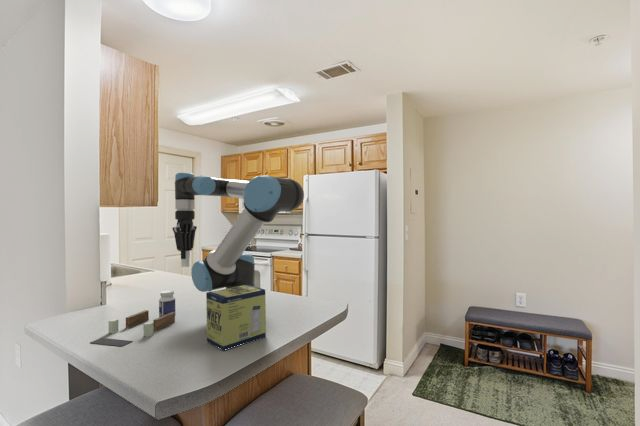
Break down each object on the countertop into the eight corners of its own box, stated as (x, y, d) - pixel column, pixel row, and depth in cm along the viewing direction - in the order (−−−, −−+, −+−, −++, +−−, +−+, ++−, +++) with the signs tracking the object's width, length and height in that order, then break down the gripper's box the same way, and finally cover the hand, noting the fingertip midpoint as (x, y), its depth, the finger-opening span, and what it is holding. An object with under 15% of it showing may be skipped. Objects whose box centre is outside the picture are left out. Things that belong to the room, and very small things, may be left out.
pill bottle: (178, 315, 128) (178, 290, 128) (170, 320, 122) (170, 293, 122) (164, 315, 128) (164, 289, 128) (155, 319, 123) (155, 293, 123)
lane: (174, 322, 120) (174, 312, 120) (157, 330, 111) (157, 320, 111) (145, 319, 123) (145, 310, 123) (125, 327, 114) (125, 317, 114)
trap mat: (132, 341, 101) (132, 341, 101) (121, 346, 97) (121, 346, 97) (101, 338, 104) (101, 337, 104) (89, 343, 100) (89, 342, 100)
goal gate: (153, 334, 107) (153, 322, 107) (148, 336, 105) (148, 324, 105) (113, 330, 111) (113, 319, 111) (108, 332, 109) (108, 320, 109)
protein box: (205, 342, 101) (205, 292, 101) (248, 329, 112) (248, 284, 112) (222, 352, 93) (222, 297, 93) (266, 337, 105) (266, 288, 105)
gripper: (187, 210, 143) (187, 263, 143) (166, 210, 131) (166, 268, 131) (202, 210, 141) (202, 264, 141) (182, 209, 129) (182, 269, 129)
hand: (185, 266), depth 136 cm, fingers closed
